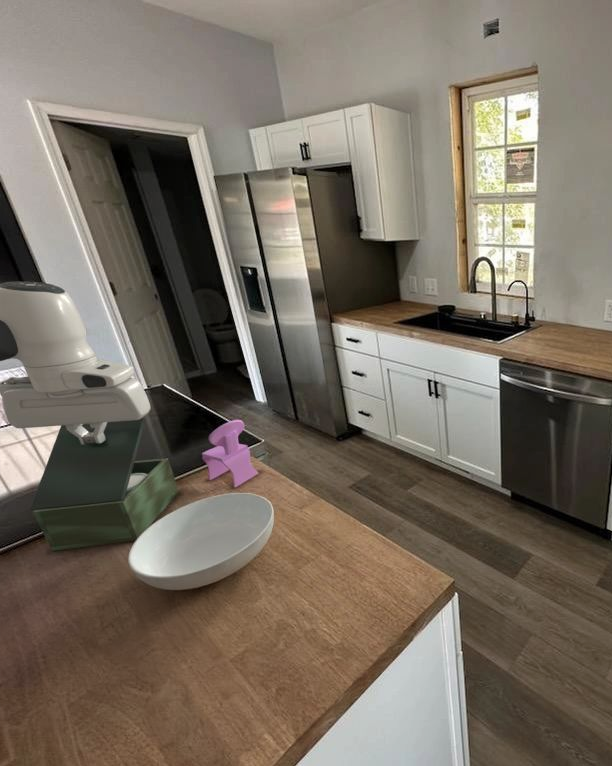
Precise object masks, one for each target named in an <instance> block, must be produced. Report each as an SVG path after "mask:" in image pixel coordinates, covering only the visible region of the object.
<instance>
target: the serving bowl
mask: <svg viewBox="0 0 612 766" xmlns="http://www.w3.org/2000/svg"><path fill="white" fill-rule="evenodd" d="M274 523H275V511H274V507H273V505H272V502H270V500H269V499H267V498H266V497H263V496H262V495H259V494H255V493H250V492H249V493H248V492H232V493H231V492H229V493H223V494H218V495H214V496H209V497H206V498H202V499H200V500H196V501H194V502H191V503H189V504H186V505H183V506H181V507H179V508H177V509H175V510H173V511H172V512H170V513H168V514H166V515H165V516H163V517H161V518H159V519H158V520H156V521H154V522H153V523H152V524H151V525H150V527H149V528H148V529H146V530H145V531H144V532H143V533H142V534H141V535H140V536H139V537H138V539H137V540H135V541H134V543H133V544H132V545H131V548H130V549H129V552H128V555H127V562H128V566H129V568H130V569H131V571H132V572H133V573H134V575H135V576H136V577H137V579H139V580H140V581H141V582H143V583H145V584H147V585H149V586H150V587H154V588H156V589H160V590H168V591H183V590H192V589H198V588H201V587H204V586H208V585H211V584H213V583H216V582H218V581H221V580H223V579H225V578H227V577H229V576H231V575H233V574H234V573H236V572H238V571H240V570H241V569H242V568H243V567H245V566H246V565H248V564H249V563H250V562H251V561H252V560H254V559H255V557H257V556H258V554H260V552H261V551H262V550H263V549H264V548H265V546H266V544H268V541H269V539H270V537H271V535H272V532H273V529H274Z"/></svg>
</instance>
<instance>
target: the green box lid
mask: <svg viewBox="0 0 612 766" xmlns="http://www.w3.org/2000/svg"><path fill="white" fill-rule="evenodd" d="M146 420H147V418H146V417H145V416H144V417H142V418H141V419H139V420H132V421H118V422H107V425H106V427H105V430H104V432H103V433H104V435H105V438H106V439H105V441H104V442H102V443H97V444H86V445H82V444H81V442H80V440H79V438H78V437H76V436H75V435H73V434H72V433H71V432H69V431H68V430H67V429H66V426H65V425H62V426H60V428H59V431H58V433H57V436H56V438H55V441H54V443H53V446H52V448H51V452H50V454H49V457H48V460H47V463H46V465H45V467H44V470H43V473H42V476H41V478H40V482H39V484H38V487H37V489H36V492H35V494H34V498H33V500H32V504H31V506H30V508H29V510H30V511H35V510H43V509H53V508H62V507H71V506H81V505H90V504H100V503H109V502H118V501H124V498H125V495H126V491H127V487H128V484H129V480H130V476H131V473H132V469H133V465H134V461H136V459H137V454H138V450H139V447H140V443H141V439H142V435H143V432H144V428H145V424H146ZM82 427H84V428H85V429H86V430H87V431H88V432H89V433H90V432H94V430H95V428H91V427H90V424H83V425H82Z"/></svg>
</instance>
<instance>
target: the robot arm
mask: <svg viewBox="0 0 612 766" xmlns="http://www.w3.org/2000/svg"><path fill="white" fill-rule="evenodd" d="M87 333H88V332H87V328H86V326H85V323H84V321H83V318H82V317H81V314H80V312H79V310H78V307H77V306H76V304H75V301H74V300H73V298H72V296H70V294H69V293H68V292H67V291H66V290H65V289H63V288H62V287H60V286H57V285H54V284H52V283H47V282H41V281H21V280H20V281H6V282H2V283H0V362H3V361H6V360H18V361H20V363H22V366H23V368H24V370H25V372H26V373H25V374H26V375H27V376H22V377H15V376H12V377H6V378H4V380H2V381H0V396H1V399H2V400H1V401H2V406H3V407H2V408H3V411H4V414H5V416H6V419H7V422H8V424H9V425H10V426H12V427H14V428H15V429H32V428H46V427H47V428H48V427H59V426H60V427H61V426H62V425H65V426H66V429H67V430H68V431H69V432H71V433H72V434H73V435H75V436H76V437H78V438H79V440H80V442H81V444H82V445H86V444H97V443H102V442H104V441H105V439H106V438H105V435H104V433H103V432H104V430H105V427H106V425H107V422H118V421H132V420H139V419H141V418H143V417H144V418H145V416H147V415H148V413H150V411H151V404H150V401H149V398H148V395H147V393H146V391H145V389H144V387H143V385H142V384H141V382H140V381H139V380H137V379H136V378H133V376H134V375H135V374H136V373H135V368H134V367H133V366H132V365H130V364H127V363H126V364H125V363H120V362H115V361H111V360H106V359H102V358H97V356H96V353H95V351H94V350H93V349H92V347H91V346H90V345H89V342H88V339H87ZM83 424H90V427H91V428H95V430H94V432H90V433H89V432H88V431H87V430H86V429H85V428H84V427H82V425H83Z"/></svg>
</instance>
